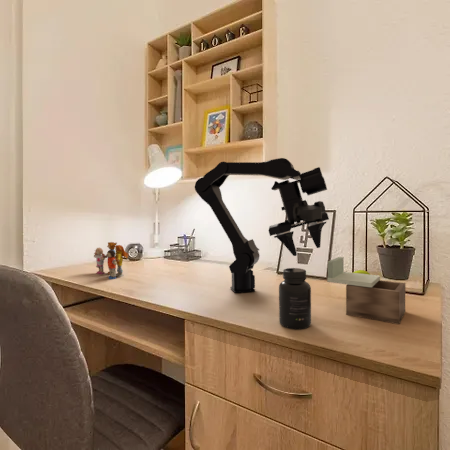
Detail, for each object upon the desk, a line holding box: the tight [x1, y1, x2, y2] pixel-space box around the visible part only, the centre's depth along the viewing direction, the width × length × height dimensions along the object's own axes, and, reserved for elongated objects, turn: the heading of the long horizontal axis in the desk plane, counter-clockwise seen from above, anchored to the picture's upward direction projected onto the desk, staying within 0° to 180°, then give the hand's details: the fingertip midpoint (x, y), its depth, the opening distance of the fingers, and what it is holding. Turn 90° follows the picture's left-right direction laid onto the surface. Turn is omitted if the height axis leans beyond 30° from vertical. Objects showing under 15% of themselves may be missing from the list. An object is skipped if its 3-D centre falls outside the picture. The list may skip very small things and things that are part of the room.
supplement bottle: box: [278, 267, 312, 330], centre depth 66 cm, size 7×7×12 cm
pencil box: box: [345, 279, 406, 325], centre depth 72 cm, size 11×10×7 cm
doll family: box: [93, 241, 130, 280], centre depth 124 cm, size 21×10×13 cm, turn 42°
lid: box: [326, 256, 381, 288], centre depth 75 cm, size 10×10×5 cm
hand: (307, 251), depth 88 cm, fingers open, 9 cm apart
